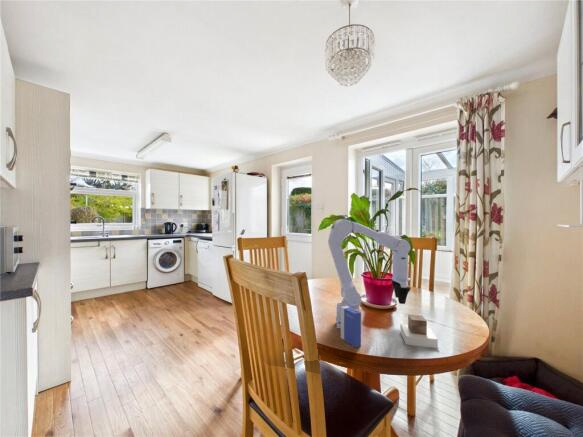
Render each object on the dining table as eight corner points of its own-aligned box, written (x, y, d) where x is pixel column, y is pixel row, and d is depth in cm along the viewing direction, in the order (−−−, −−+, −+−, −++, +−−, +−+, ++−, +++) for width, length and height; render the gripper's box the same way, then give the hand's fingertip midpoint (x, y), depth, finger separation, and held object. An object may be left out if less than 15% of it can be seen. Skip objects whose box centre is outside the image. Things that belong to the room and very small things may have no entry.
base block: (406, 344, 86) (406, 336, 86) (400, 331, 96) (400, 324, 96) (437, 348, 84) (437, 339, 84) (428, 334, 94) (428, 326, 94)
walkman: (361, 345, 85) (361, 311, 85) (354, 347, 84) (354, 312, 84) (346, 336, 92) (346, 304, 92) (340, 337, 91) (340, 305, 91)
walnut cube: (411, 333, 88) (411, 319, 88) (408, 327, 93) (408, 314, 93) (426, 335, 87) (426, 320, 87) (422, 328, 92) (422, 315, 92)
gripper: (415, 271, 93) (415, 307, 93) (406, 264, 108) (406, 295, 108) (395, 270, 95) (395, 305, 95) (389, 264, 109) (389, 294, 109)
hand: (400, 300), depth 101 cm, fingers open, 7 cm apart
